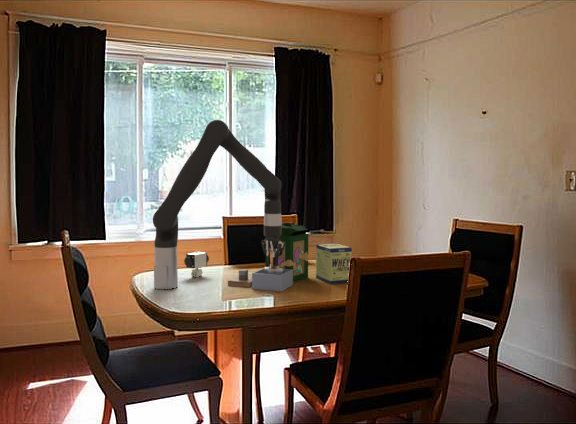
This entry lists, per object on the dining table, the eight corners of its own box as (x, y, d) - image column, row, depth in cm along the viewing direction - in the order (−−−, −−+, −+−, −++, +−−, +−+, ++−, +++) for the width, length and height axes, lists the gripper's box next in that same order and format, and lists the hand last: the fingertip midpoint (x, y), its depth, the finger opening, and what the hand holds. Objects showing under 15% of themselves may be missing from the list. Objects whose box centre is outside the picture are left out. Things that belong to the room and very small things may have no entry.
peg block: (282, 279, 235) (282, 252, 234) (268, 280, 233) (267, 252, 232) (278, 276, 241) (278, 249, 240) (264, 277, 239) (263, 250, 238)
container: (292, 283, 244) (292, 226, 242) (260, 278, 255) (260, 223, 253) (311, 278, 256) (311, 223, 254) (280, 273, 267) (280, 221, 265)
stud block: (249, 287, 237) (249, 272, 236) (227, 285, 240) (227, 271, 240) (258, 282, 246) (258, 268, 245) (237, 280, 249) (237, 267, 249)
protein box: (330, 284, 243) (330, 248, 242) (315, 277, 257) (315, 244, 256) (352, 282, 247) (352, 247, 245) (335, 276, 261) (336, 243, 260)
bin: (281, 291, 229) (281, 275, 228) (252, 288, 233) (252, 273, 233) (292, 284, 241) (292, 269, 241) (264, 282, 246) (264, 267, 245)
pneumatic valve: (209, 275, 262) (209, 249, 261) (191, 279, 252) (191, 252, 251) (200, 274, 265) (200, 248, 264) (182, 278, 256) (182, 251, 255)
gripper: (290, 225, 232) (290, 266, 234) (269, 222, 243) (269, 262, 244) (276, 226, 227) (276, 268, 229) (255, 223, 238) (255, 264, 239)
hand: (272, 265), depth 237 cm, fingers closed on peg block, 2 cm apart
